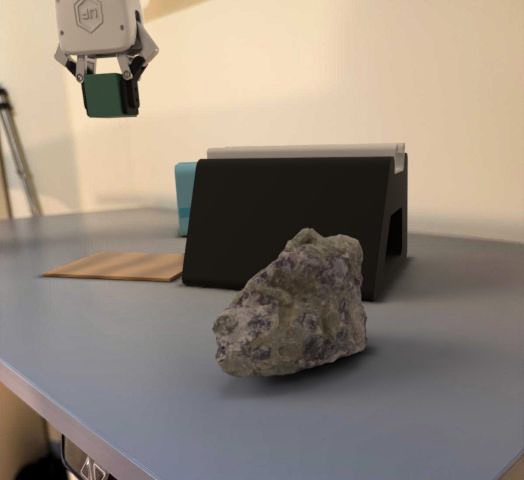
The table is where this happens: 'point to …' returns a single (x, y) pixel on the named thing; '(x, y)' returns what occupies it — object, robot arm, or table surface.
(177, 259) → the wooden board
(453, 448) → the table surface
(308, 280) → the mineral rock
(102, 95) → the dark green block
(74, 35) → the robot arm
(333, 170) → the device stand
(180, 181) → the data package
